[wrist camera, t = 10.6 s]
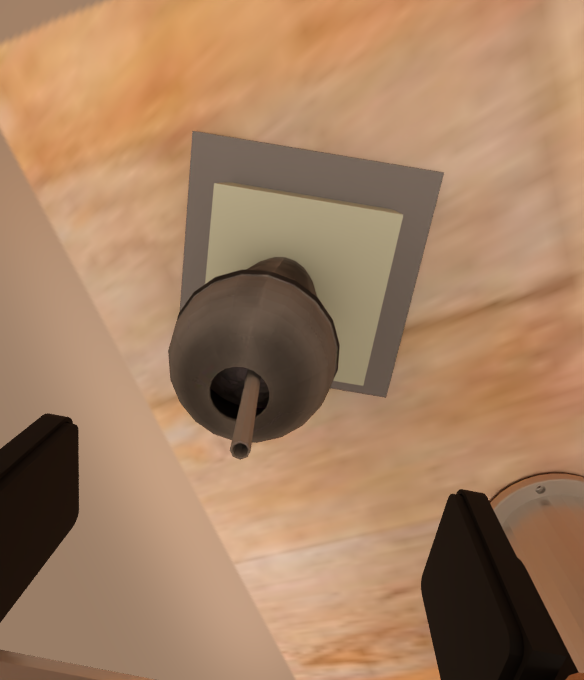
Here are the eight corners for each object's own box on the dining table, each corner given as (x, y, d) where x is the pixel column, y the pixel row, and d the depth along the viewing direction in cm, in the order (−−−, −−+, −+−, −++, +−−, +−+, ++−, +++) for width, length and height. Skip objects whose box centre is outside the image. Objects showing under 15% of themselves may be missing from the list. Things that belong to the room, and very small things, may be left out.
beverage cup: (203, 286, 30) (10, 463, 12) (281, 210, 28) (199, 275, 10) (278, 360, 32) (213, 624, 13) (356, 293, 30) (413, 491, 11)
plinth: (440, 172, 32) (464, 171, 27) (384, 392, 39) (394, 428, 33) (196, 132, 33) (169, 122, 27) (179, 357, 39) (155, 387, 33)
